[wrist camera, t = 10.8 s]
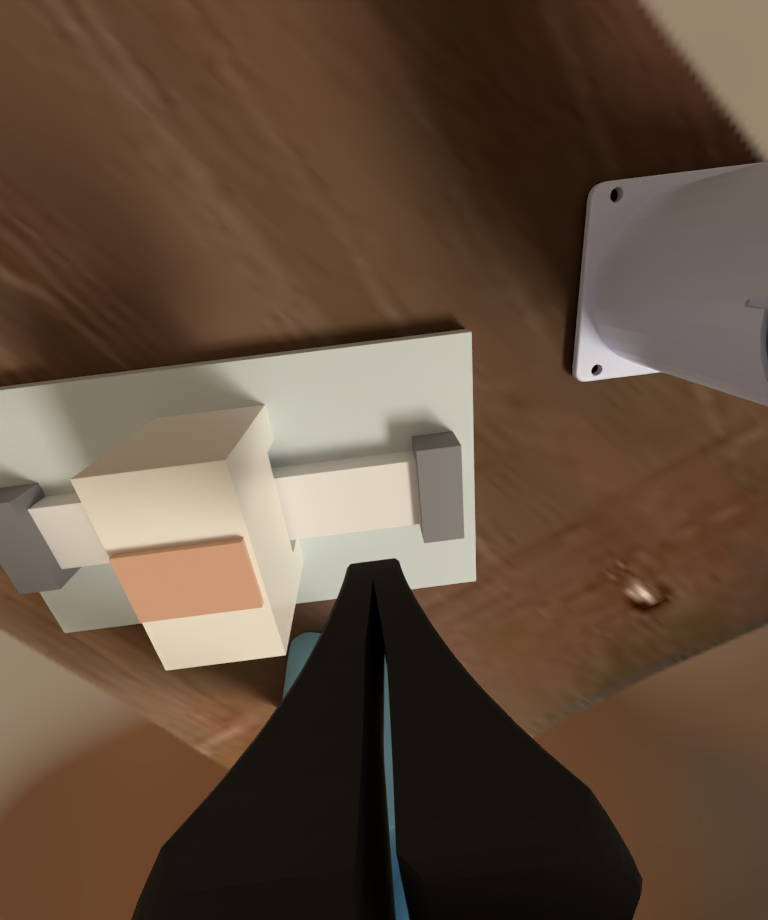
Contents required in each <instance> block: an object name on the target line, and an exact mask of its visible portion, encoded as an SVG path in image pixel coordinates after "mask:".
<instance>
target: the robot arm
mask: <svg viewBox="0 0 768 920" xmlns="http://www.w3.org/2000/svg"><path fill="white" fill-rule="evenodd" d="M613 189H615V190H616V191H617V194H618V196H617V199H616V201H615V202H612V201H611V199H610V194H611V191H612V190H613ZM595 365H598V369H597V371H596V372H595V373H593V374H592V373H591V370H592V368H593V367H594V366H595ZM658 372H664V373H667V374H670V375H673V376H676V377H679V378H682V379H685V380H688V381H691V382H694V383H697V384H700V385H704V386H707V387H710V388H713V389H716V390H719V391H722V392H725V393H728V394H731V395H734V396H737V397H741V398H744V399H747V400H750V401H753V402H756V403H759V404H762V405H765V406H768V161H767V162H760V163H752V164H744V165H736V166H728V167H719V168H711V169H703V170H695V171H687V172H679V173H670V174H662V175H654V176H646V177H638V178H629V179H621V180H613V181H605V182H602V183H599V184H597V185H595V186H594V187H593V188H592V189H591V191H590V192H589V195H588V199H587V209H586V220H585V232H584V243H583V255H582V266H581V277H580V289H579V300H578V311H577V323H576V334H575V346H574V357H573V368H572V373H573V376H574V378H575V379H577V380H579V381H583V382H586V381H594V380H602V379H610V378H618V377H626V376H634V375H642V374H650V373H658ZM385 658H386V664H387V673H388V689H389V706H390V724H391V744H392V765H393V788H394V813H395V839H396V855H397V860H398V865H399V870H400V875H401V880H402V885H403V890H404V895H405V900H406V905H407V910H408V915H409V920H632V919H633V916H634V913H635V910H636V907H637V904H638V901H639V899H640V895H641V891H642V877H641V875H640V873H639V871H638V869H637V867H636V864H635V861H634V860H633V857H632V856H631V854H630V852H629V850H628V848H627V846H626V845H625V843H624V841H623V839H622V838H621V836H620V834H619V832H618V831H617V829H616V827H615V826H614V824H613V823H612V821H611V819H610V818H609V816H608V815H607V813H606V811H605V810H604V809H603V807H602V806H601V804H600V803H599V801H598V800H597V798H596V797H595V795H594V794H593V792H592V791H591V789H590V788H589V787H588V786H587V785H585V784H584V783H583V782H582V781H581V780H580V779H578V778H577V777H576V776H575V775H573V774H572V773H571V772H570V771H569V770H567V769H566V768H565V767H564V766H563V765H562V764H560V763H559V762H558V761H557V760H556V759H555V758H554V757H552V756H551V755H550V754H549V753H548V752H547V751H545V750H544V749H543V748H542V747H541V746H540V745H539V744H538V743H537V742H535V740H533V739H532V738H531V737H530V736H529V735H528V734H527V733H526V732H525V731H524V730H523V729H522V728H521V727H519V726H518V725H517V724H516V723H515V722H514V721H513V720H512V719H511V718H510V717H509V716H508V714H507V713H506V712H505V711H504V710H503V709H502V708H501V707H500V706H499V705H498V704H497V703H496V702H495V701H494V700H493V699H492V698H491V697H490V696H489V695H488V694H487V693H486V692H485V691H484V690H483V689H482V688H481V687H480V685H479V684H478V683H477V682H476V681H475V680H474V679H473V677H472V676H471V675H470V674H469V673H468V672H467V670H466V669H465V668H464V667H463V666H462V664H461V663H460V662H459V661H458V660H457V658H456V657H455V656H454V655H453V653H452V652H451V651H450V649H449V648H448V647H447V645H446V644H445V643H444V641H443V640H442V638H441V637H440V636H439V634H438V633H437V631H436V630H435V629H434V627H433V626H432V624H431V623H430V621H429V620H428V618H427V616H426V615H425V613H424V611H423V610H422V608H421V607H420V605H419V603H418V602H417V600H416V598H415V596H414V595H413V593H412V591H411V589H410V587H409V585H408V583H407V581H406V579H405V576H404V574H403V571H402V569H401V566H400V561H399V560H397V559H396V558H392V559H384V560H376V561H369V562H361V563H353V564H350V565H349V566H348V567H347V570H346V574H345V577H344V580H343V583H342V586H341V589H340V592H339V594H338V597H337V599H336V602H335V604H334V606H333V609H332V611H331V613H330V615H329V618H328V620H327V622H326V624H325V627H324V629H323V631H322V633H321V635H320V636H319V638H318V640H317V642H316V644H315V646H314V648H313V650H312V652H311V654H310V656H309V657H308V659H307V661H306V663H305V665H304V666H303V668H302V670H301V671H300V673H299V675H298V676H297V678H296V680H295V681H294V683H293V684H292V686H291V688H290V689H289V691H288V692H287V694H286V695H285V697H284V698H283V700H282V701H281V703H280V704H279V706H278V707H277V709H276V710H275V711H274V713H273V714H272V716H271V717H270V719H269V720H268V722H267V723H266V724H265V726H264V727H263V729H262V730H261V731H260V733H259V734H258V735H257V737H256V738H255V739H254V741H253V742H252V743H251V744H250V746H249V747H248V748H247V749H246V751H245V752H244V753H243V754H242V756H241V757H240V758H239V759H238V761H237V762H236V763H235V764H234V766H233V767H232V768H231V769H230V771H229V772H228V773H227V774H226V776H225V777H224V778H223V779H222V781H221V782H220V783H219V784H218V785H217V786H216V788H215V789H214V790H213V791H212V792H211V793H210V794H209V796H208V797H207V798H206V799H205V800H204V801H203V802H202V803H201V804H200V806H199V807H198V808H197V809H196V810H195V811H194V812H193V813H192V814H191V815H190V817H189V818H188V819H187V820H186V821H185V822H184V823H183V824H182V825H181V827H180V828H179V829H178V830H177V831H176V832H175V833H174V834H173V835H172V836H171V838H170V839H169V840H168V841H167V842H166V843H165V844H164V845H163V846H162V847H161V850H160V852H159V854H158V857H157V859H156V861H155V863H154V866H153V868H152V870H151V873H150V875H149V877H148V879H147V881H146V883H145V886H144V888H143V891H142V893H141V895H140V897H139V900H138V902H137V905H136V908H135V911H134V914H133V917H132V919H131V920H396V912H395V899H394V886H393V874H392V861H391V847H390V834H389V820H388V807H387V792H386V778H385V764H384V671H385Z"/></svg>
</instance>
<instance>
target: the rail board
mask: <svg viewBox="0 0 768 920" xmlns="http://www.w3.org/2000/svg"><path fill="white" fill-rule="evenodd" d="M258 405H265V406H266V410H267V414H268V418H269V422H270V427H271V431H272V435H273V439H274V441H273V443H272V445H271V447H270V449H269V450H268V452H267V454H268V457H269V461H270V465H271V469H272V473H273V477H274V481H275V485H276V489H277V492H278V496H279V500H280V504H281V508H282V512H283V516H284V520H285V524H286V527H287V531H288V535H289V539H290V540H297V539H298V540H299V544H300V548H301V553H302V557H303V561H304V563H303V568H302V573H301V578H300V584H299V589H298V594H297V599H296V604H298V603H306V602H314V601H322V600H330V599H337V597H338V594H339V592H340V589H341V586H342V583H343V580H344V577H345V574H346V570H347V567H348V566H349V565H350V564H353V563H361V562H369V561H376V560H384V559H392V558H396V559H397V560H399V561H400V566H401V569H402V571H403V574H404V576H405V579H406V581H407V583H408V585H409V587H410V589H417V588H424V587H432V586H440V585H448V584H456V583H464V582H472V581H476V551H475V495H474V440H473V384H472V332H471V331H469V330H467V329H462V330H454V331H446V332H438V333H430V334H422V335H414V336H406V337H398V338H390V339H381V340H373V341H365V342H357V343H349V344H341V345H333V346H325V347H317V348H309V349H301V350H293V351H284V352H276V353H268V354H260V355H252V356H244V357H236V358H228V359H220V360H212V361H204V362H196V363H188V364H179V365H171V366H163V367H155V368H147V369H139V370H131V371H123V372H115V373H107V374H99V375H91V376H82V377H74V378H66V379H58V380H50V381H42V382H34V383H26V384H18V385H10V386H2V387H0V565H1V566H2V568H3V569H4V571H5V572H6V574H7V575H8V577H9V579H10V580H11V582H12V583H13V585H14V586H15V588H16V589H17V591H18V592H19V594H27V593H35V592H39V593H40V594H41V596H42V597H43V599H44V601H45V602H46V604H47V605H48V607H49V609H50V610H51V612H52V614H53V615H54V617H55V618H56V620H57V622H58V623H59V625H60V626H61V628H62V630H63V631H64V633H70V632H78V631H86V630H93V629H101V628H109V627H117V626H125V625H133V624H141V623H140V621H139V619H138V617H137V615H136V613H135V611H134V609H133V607H132V605H131V603H130V601H129V599H128V597H127V595H126V593H125V591H124V589H123V587H122V585H121V583H120V581H119V579H118V577H117V575H116V573H115V571H114V569H113V567H112V565H111V564H110V562H109V560H108V559H109V556H108V554H107V552H106V550H105V548H104V546H103V545H102V543H101V541H100V539H99V537H98V535H97V533H96V531H95V529H94V527H93V525H92V523H91V521H90V519H89V517H88V515H87V513H86V511H85V509H84V507H83V505H82V503H81V501H80V499H79V497H78V495H77V493H76V491H75V489H74V487H73V485H72V483H71V481H70V479H71V478H73V477H74V476H75V475H77V474H78V473H80V472H81V471H82V470H84V469H85V468H87V467H88V466H89V465H91V464H92V463H94V462H95V461H96V460H98V459H99V458H101V457H102V456H103V455H105V454H106V453H108V452H109V451H110V450H112V449H113V448H115V447H116V446H117V445H119V444H120V443H122V442H123V441H124V440H126V439H127V438H129V437H130V436H132V435H133V434H134V433H136V432H137V431H139V430H140V429H141V428H143V427H144V426H146V425H147V424H148V423H150V422H151V421H153V420H154V419H155V418H162V417H170V416H178V415H186V414H194V413H202V412H210V411H218V410H226V409H234V408H242V407H250V406H258Z"/></svg>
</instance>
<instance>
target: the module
mask: <svg viewBox="0 0 768 920" xmlns="http://www.w3.org/2000/svg"><path fill="white" fill-rule="evenodd" d="M273 441H274V439H273V435H272V431H271V427H270V422H269V418H268V414H267V410H266V406H265V405H258V406H250V407H242V408H234V409H226V410H218V411H210V412H202V413H194V414H186V415H178V416H170V417H162V418H155V419H154V420H153V421H151V422H150V423H148V424H147V425H146V426H144V427H143V428H141V429H140V430H139V431H137V432H136V433H134V434H133V435H132V436H130V437H129V438H127V439H126V440H124V441H123V442H122V443H120V444H119V445H117V446H116V447H115V448H113V449H112V450H110V451H109V452H108V453H106V454H105V455H103V456H102V457H101V458H99V459H98V460H96V461H95V462H94V463H92V464H91V465H89V466H88V467H87V468H85V469H84V470H82V471H81V472H80V473H78V474H77V475H75V476H74V477H73V478H71V479H70V481H71V483H72V485H73V487H74V489H75V491H76V493H77V495H78V497H79V499H80V501H81V503H82V505H83V507H84V509H85V511H86V513H87V515H88V517H89V519H90V521H91V523H92V525H93V527H94V529H95V531H96V533H97V535H98V537H99V539H100V541H101V543H102V545H103V546H104V548H105V550H106V552H107V554H108V556H109V559H108V560H109V562H110V564H111V565H112V567H113V569H114V571H115V573H116V575H117V577H118V579H119V581H120V583H121V585H122V587H123V589H124V591H125V593H126V595H127V597H128V599H129V601H130V603H131V605H132V607H133V609H134V611H135V613H136V615H137V617H138V619H139V621H140V623H142V624H143V626H144V628H145V630H146V632H147V634H148V636H149V638H150V640H151V642H152V644H153V646H154V648H155V650H156V652H157V654H158V656H159V658H160V660H161V662H162V664H163V666H164V668H165V670H166V671H167V670H175V669H182V668H190V667H198V666H206V665H214V664H222V663H230V662H237V661H245V660H253V659H261V658H269V657H277V656H284V655H286V652H287V646H288V641H289V636H290V631H291V625H292V620H293V615H294V610H295V605H296V599H297V594H298V589H299V584H300V578H301V573H302V568H303V563H304V561H303V557H302V553H301V548H300V544H299V540H298V539H297V540H290V539H289V535H288V531H287V527H286V524H285V520H284V516H283V512H282V508H281V504H280V500H279V496H278V492H277V489H276V485H275V481H274V477H273V473H272V469H271V465H270V461H269V457H268V454H267V452H268V450H269V449H270V447H271V445H272V443H273Z"/></svg>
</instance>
